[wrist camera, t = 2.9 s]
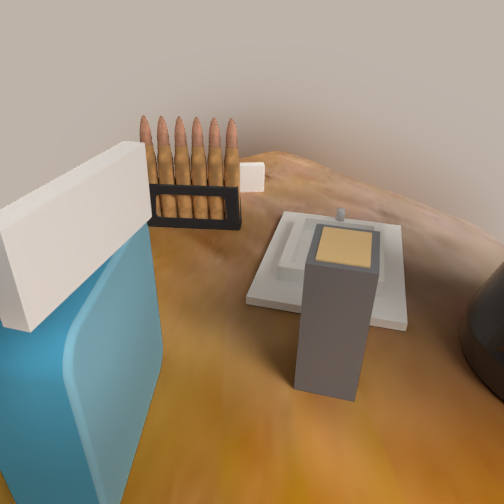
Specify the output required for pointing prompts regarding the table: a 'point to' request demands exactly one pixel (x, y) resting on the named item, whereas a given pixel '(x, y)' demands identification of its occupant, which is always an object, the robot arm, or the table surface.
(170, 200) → the ammunition clip
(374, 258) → the grey upright block
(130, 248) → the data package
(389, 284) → the dock tray
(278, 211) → the table surface
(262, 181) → the eraser
